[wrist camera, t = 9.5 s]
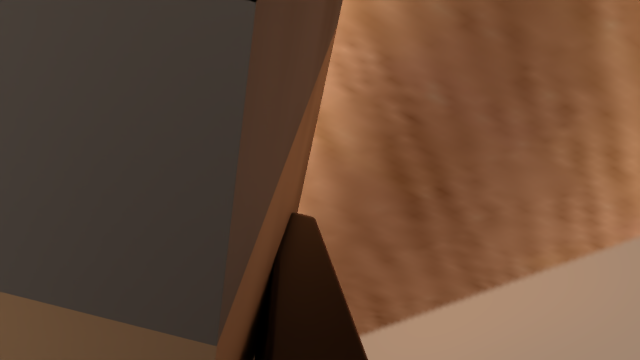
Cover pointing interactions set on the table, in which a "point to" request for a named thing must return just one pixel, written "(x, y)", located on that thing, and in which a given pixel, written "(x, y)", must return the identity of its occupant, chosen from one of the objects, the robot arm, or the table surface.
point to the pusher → (151, 170)
